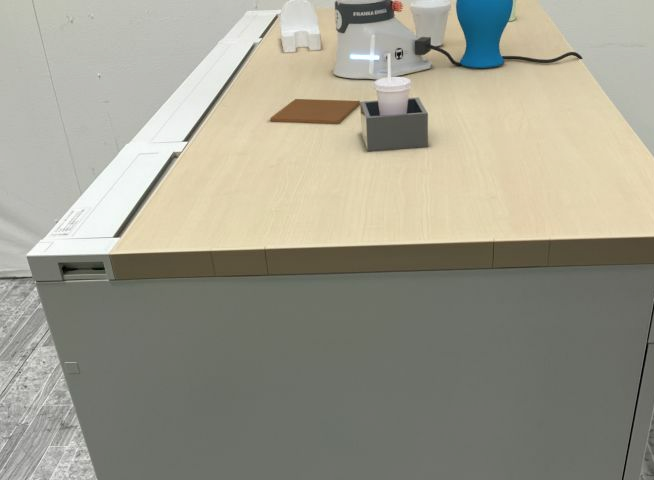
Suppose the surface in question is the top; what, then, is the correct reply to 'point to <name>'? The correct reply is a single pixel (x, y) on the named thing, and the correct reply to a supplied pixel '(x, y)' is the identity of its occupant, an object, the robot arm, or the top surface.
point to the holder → (394, 127)
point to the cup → (431, 19)
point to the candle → (513, 11)
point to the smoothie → (392, 93)
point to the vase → (483, 30)
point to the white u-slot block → (299, 26)
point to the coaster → (315, 111)
